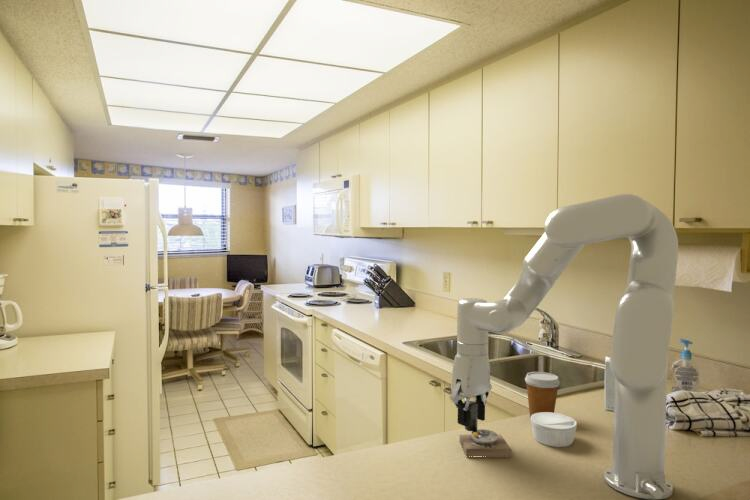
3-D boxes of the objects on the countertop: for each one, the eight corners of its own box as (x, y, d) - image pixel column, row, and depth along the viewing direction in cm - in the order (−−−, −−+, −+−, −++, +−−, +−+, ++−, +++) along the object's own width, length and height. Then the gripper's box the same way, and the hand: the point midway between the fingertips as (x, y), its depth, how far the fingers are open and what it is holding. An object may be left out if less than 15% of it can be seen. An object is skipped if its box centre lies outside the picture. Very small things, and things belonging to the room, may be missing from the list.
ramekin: (566, 453, 119) (566, 431, 119) (522, 440, 126) (522, 419, 126) (583, 439, 127) (583, 419, 127) (541, 428, 135) (541, 408, 134)
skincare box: (626, 413, 146) (627, 363, 146) (603, 410, 149) (604, 360, 148) (625, 404, 154) (626, 356, 153) (604, 401, 156) (605, 354, 156)
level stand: (510, 457, 116) (510, 446, 116) (466, 457, 116) (466, 446, 116) (500, 442, 125) (501, 432, 125) (459, 442, 124) (459, 432, 124)
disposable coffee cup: (548, 426, 135) (549, 382, 135) (517, 416, 143) (518, 375, 142) (565, 418, 142) (566, 376, 141) (535, 409, 149) (536, 369, 148)
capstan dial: (484, 448, 115) (484, 414, 115) (455, 437, 122) (456, 404, 122) (502, 440, 120) (502, 407, 120) (473, 429, 126) (474, 398, 126)
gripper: (481, 341, 131) (480, 410, 132) (437, 351, 120) (436, 426, 120) (505, 346, 126) (504, 418, 126) (462, 357, 114) (461, 435, 115)
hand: (471, 421), depth 123 cm, fingers open, 5 cm apart
